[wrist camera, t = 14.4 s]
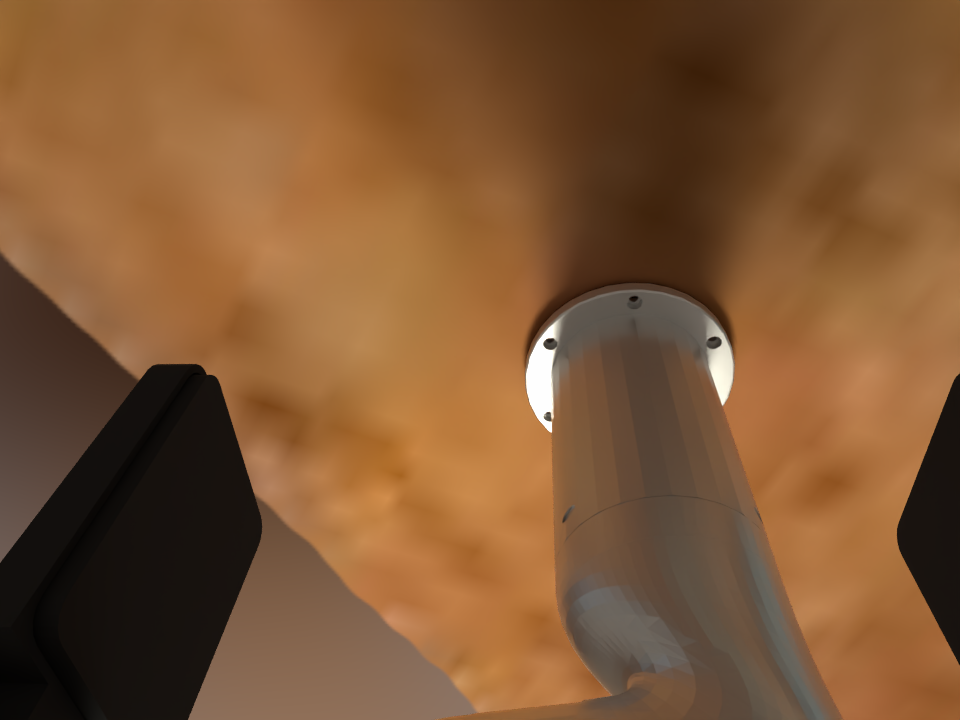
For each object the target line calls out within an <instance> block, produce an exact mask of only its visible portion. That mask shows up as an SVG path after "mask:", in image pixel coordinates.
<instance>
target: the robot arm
mask: <svg viewBox="0 0 960 720" xmlns="http://www.w3.org/2000/svg"><path fill="white" fill-rule="evenodd" d="M632 296H636V297H635V298H630V297H632ZM548 338H551V339H548ZM734 371H735V361H734V356H733V351H732V347H731V344H730V342H729V339H728V337H727V334H726V332H725V330H724V329H723V327H722V325H721V324H720V322H719V320H718V319H717V317H716V316H715V315H714V314H713V313H712V312H711V311H710V310H709V309H708V308H707V307H706V306H705V305H703V304H702V303H700V302H699V301H697V300H695V299H694V298H692V297H691V296H689V295H687V294H685V293H682V292H680V291H677V290H675V289H672V288H670V287H665V286H660V285H655V284H650V283H624V284H617V285H609V286H605V287H602V288H599V289H595V290H592V291H589V292H586V293H584V294H582V295H580V296H578V297H576V298H575V299H573V300H571V301H569V302H567V303H566V304H565V305H563V306H562V307H561V308H559V309H558V310H557V311H555V312H554V313H553V314H552V315H551V316H550V317H549V318H548V319H547V321H546V322H545V323H544V324H543V325H542V326H541V327H540V329H539V331H538V332H537V334H536V336H535V337H534V339H533V341H532V343H531V346H530V349H529V352H528V355H527V358H526V369H525V388H526V392H527V396H528V400H529V404H530V406H531V407H532V409H533V411H534V413H535V415H536V417H537V418H538V420H539V421H540V422H541V423H542V424H543V426H544V427H545V428H546V429H547V430H548V431H549V432H551V435H552V474H553V513H554V551H555V582H556V598H557V605H558V611H559V615H560V618H561V622H562V625H563V628H564V630H565V632H566V634H567V637H568V639H569V641H570V643H571V645H572V647H573V648H574V650H575V652H576V653H577V655H578V656H579V657H580V659H581V660H582V662H583V663H584V664H585V666H586V667H587V669H588V670H589V671H590V672H591V673H592V675H593V676H594V677H595V678H596V679H597V680H598V681H599V682H600V684H601V685H602V686H603V687H604V688H605V689H606V690H607V691H608V692H609V693H610V694H611V695H612V696H608V697H602V698H596V699H588V700H583V701H582V702H578V703H568V704H559V705H549V706H540V707H531V708H521V709H512V710H503V711H493V712H484V713H475V714H471V715H463V716H454V717H448V718H442V719H436V720H843V718H842V716H841V714H840V712H839V710H838V708H837V706H836V705H835V703H834V701H833V699H832V697H831V695H830V693H829V691H828V689H827V687H826V685H825V683H824V681H823V679H822V677H821V675H820V672H819V670H818V668H817V666H816V664H815V662H814V660H813V658H812V655H811V653H810V651H809V648H808V646H807V644H806V641H805V639H804V636H803V634H802V632H801V629H800V627H799V624H798V622H797V620H796V617H795V614H794V612H793V609H792V606H791V604H790V601H789V598H788V595H787V593H786V590H785V587H784V584H783V581H782V579H781V576H780V573H779V570H778V567H777V564H776V561H775V558H774V555H773V552H772V550H771V547H770V544H769V541H768V538H767V535H766V532H765V529H764V526H763V523H762V520H761V517H760V514H759V511H758V508H757V505H756V503H755V500H754V497H753V494H752V491H751V488H750V485H749V482H748V480H747V477H746V474H745V471H744V468H743V465H742V462H741V459H740V456H739V453H738V450H737V447H736V444H735V441H734V439H733V436H732V433H731V430H730V427H729V424H728V421H727V418H726V415H725V412H724V409H723V406H724V404H725V403H726V401H727V399H728V397H729V395H730V392H731V388H732V385H733V382H734ZM261 534H262V520H261V515H260V512H259V509H258V506H257V502H256V499H255V496H254V493H253V489H252V486H251V483H250V480H249V476H248V473H247V470H246V467H245V464H244V460H243V457H242V454H241V451H240V447H239V444H238V441H237V438H236V435H235V431H234V428H233V425H232V422H231V418H230V415H229V412H228V409H227V406H226V402H225V399H224V396H223V393H222V390H221V386H220V384H219V381H218V379H217V378H216V377H215V376H213V375H207V374H206V372H205V370H204V369H203V368H202V367H201V366H200V365H197V364H157V365H153V366H152V367H150V368H149V369H148V370H147V372H146V373H145V374H144V375H143V377H142V378H141V379H140V381H139V382H138V383H137V385H136V386H135V387H134V389H133V390H132V391H131V392H130V394H129V395H128V396H127V398H126V399H125V401H124V402H123V403H122V404H121V406H120V407H119V408H118V410H117V411H116V412H115V413H114V415H113V416H112V418H111V419H110V420H109V421H108V423H107V424H106V425H105V427H104V428H103V429H102V430H101V432H100V433H99V434H98V436H97V437H96V438H95V440H94V441H93V442H92V444H91V445H90V446H89V447H88V449H87V450H86V451H85V453H84V454H83V455H82V457H81V458H80V459H79V461H78V462H77V463H76V465H75V466H74V467H73V468H72V470H71V471H70V472H69V474H68V475H67V476H66V478H65V479H64V480H63V481H62V483H61V484H60V485H59V487H58V488H57V489H56V491H55V492H54V493H53V495H52V496H51V497H50V498H49V500H48V501H47V502H46V504H45V505H44V507H43V508H42V509H41V510H40V512H39V513H38V514H37V516H36V517H35V518H34V519H33V521H32V522H31V523H30V525H29V526H28V527H27V529H26V530H25V531H24V533H23V534H22V535H21V537H20V538H19V539H18V540H17V542H16V543H15V544H14V546H13V547H12V548H11V550H10V551H9V552H8V553H7V555H6V556H5V557H4V559H3V560H2V561H1V563H0V720H188V718H189V715H190V713H191V711H192V708H193V706H194V703H195V701H196V698H197V696H198V693H199V691H200V688H201V686H202V683H203V681H204V678H205V676H206V673H207V671H208V669H209V666H210V664H211V661H212V659H213V656H214V654H215V651H216V649H217V646H218V644H219V642H220V639H221V636H222V634H223V632H224V629H225V627H226V624H227V622H228V619H229V617H230V615H231V612H232V609H233V607H234V605H235V602H236V600H237V597H238V595H239V592H240V590H241V588H242V585H243V582H244V580H245V578H246V575H247V572H248V570H249V568H250V565H251V563H252V560H253V558H254V556H255V553H256V551H257V548H258V546H259V543H260V539H261ZM897 541H898V546H899V550H900V552H901V554H902V556H903V558H904V560H905V562H906V564H907V566H908V568H909V570H910V572H911V574H912V575H913V577H914V579H915V581H916V583H917V585H918V587H919V589H920V591H921V593H922V594H923V596H924V598H925V600H926V602H927V604H928V606H929V608H930V610H931V612H932V613H933V615H934V617H935V619H936V621H937V623H938V625H939V627H940V629H941V631H942V632H943V634H944V636H945V638H946V640H947V642H948V644H949V646H950V648H951V650H952V651H953V653H954V655H955V657H956V659H957V661H958V663H959V665H960V374H959V375H958V376H957V377H956V378H955V380H954V382H953V384H952V387H951V389H950V392H949V394H948V397H947V400H946V402H945V405H944V407H943V410H942V412H941V415H940V418H939V420H938V423H937V425H936V428H935V431H934V433H933V436H932V438H931V441H930V443H929V446H928V449H927V451H926V454H925V456H924V459H923V462H922V464H921V467H920V469H919V472H918V474H917V477H916V480H915V482H914V485H913V487H912V490H911V493H910V495H909V498H908V500H907V503H906V505H905V508H904V511H903V513H902V516H901V518H900V521H899V524H898V528H897Z"/></svg>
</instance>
